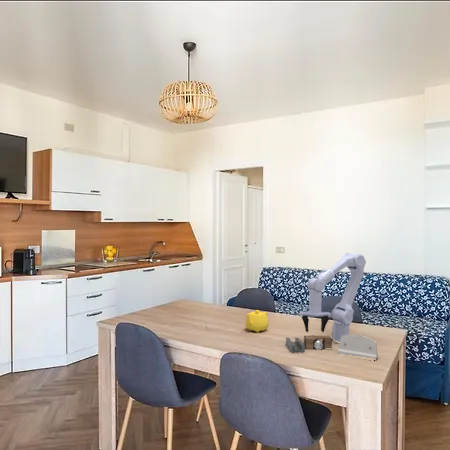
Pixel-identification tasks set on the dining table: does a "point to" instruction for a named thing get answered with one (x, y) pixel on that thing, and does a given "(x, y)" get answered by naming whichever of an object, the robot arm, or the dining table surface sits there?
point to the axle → (317, 343)
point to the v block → (295, 345)
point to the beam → (309, 339)
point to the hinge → (358, 346)
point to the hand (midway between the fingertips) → (314, 331)
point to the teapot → (257, 321)
